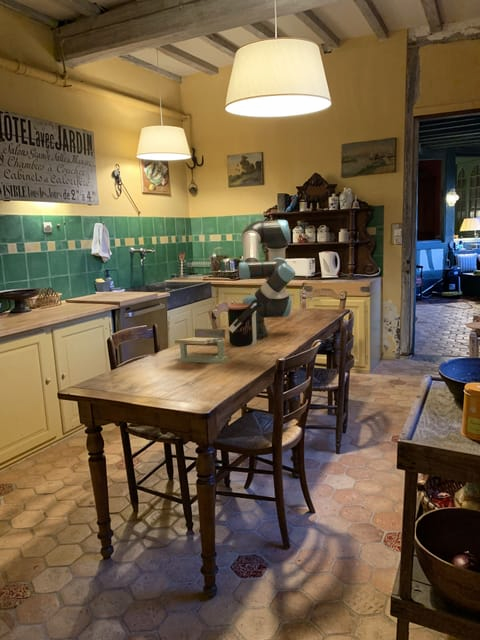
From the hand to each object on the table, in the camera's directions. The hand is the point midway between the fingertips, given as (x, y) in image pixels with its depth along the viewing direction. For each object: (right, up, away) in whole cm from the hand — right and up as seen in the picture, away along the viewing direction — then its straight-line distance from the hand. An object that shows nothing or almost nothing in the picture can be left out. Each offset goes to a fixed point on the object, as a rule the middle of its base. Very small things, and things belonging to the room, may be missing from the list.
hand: (234, 327), depth 223 cm
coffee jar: (+3, -8, +1) cm, 8 cm away
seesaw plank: (-16, -9, +8) cm, 20 cm away
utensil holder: (+4, -10, +37) cm, 38 cm away
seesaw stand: (-15, -15, +10) cm, 24 cm away
